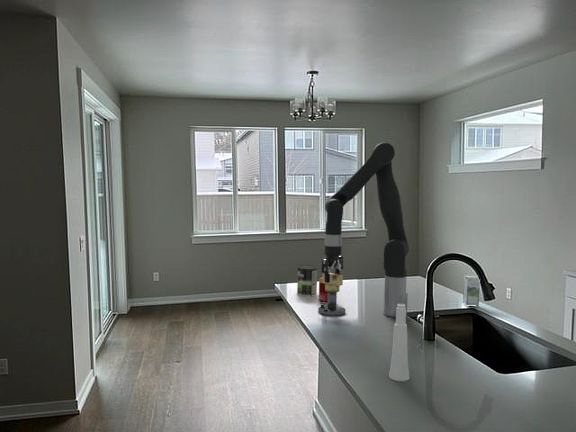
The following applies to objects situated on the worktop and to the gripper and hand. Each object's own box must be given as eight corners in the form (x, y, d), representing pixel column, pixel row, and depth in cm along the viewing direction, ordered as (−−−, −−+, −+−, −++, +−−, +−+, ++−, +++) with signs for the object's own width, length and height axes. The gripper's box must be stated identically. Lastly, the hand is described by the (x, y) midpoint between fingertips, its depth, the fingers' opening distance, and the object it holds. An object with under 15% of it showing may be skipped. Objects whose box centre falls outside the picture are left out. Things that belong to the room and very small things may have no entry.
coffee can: (302, 297, 233) (303, 269, 232) (293, 292, 242) (294, 265, 241) (320, 295, 237) (321, 267, 236) (311, 290, 246) (311, 264, 245)
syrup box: (475, 304, 223) (476, 274, 222) (478, 307, 217) (480, 277, 216) (462, 303, 223) (464, 274, 222) (466, 307, 218) (467, 276, 216)
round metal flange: (350, 311, 207) (350, 290, 206) (336, 317, 198) (336, 296, 197) (327, 307, 214) (328, 286, 214) (313, 312, 205) (313, 291, 204)
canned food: (335, 303, 221) (336, 280, 220) (319, 303, 221) (319, 280, 221) (334, 299, 229) (335, 277, 228) (318, 299, 229) (318, 277, 228)
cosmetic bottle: (394, 371, 142) (396, 300, 141) (412, 376, 139) (415, 304, 137) (384, 377, 138) (387, 304, 136) (403, 383, 134) (406, 308, 132)
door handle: (344, 290, 205) (345, 274, 205) (337, 293, 200) (337, 276, 199) (324, 287, 211) (325, 271, 211) (316, 289, 206) (317, 273, 206)
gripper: (331, 247, 196) (331, 284, 197) (348, 243, 207) (347, 279, 208) (317, 245, 200) (316, 282, 202) (334, 242, 212) (333, 277, 213)
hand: (332, 280), depth 205 cm, fingers open, 8 cm apart
